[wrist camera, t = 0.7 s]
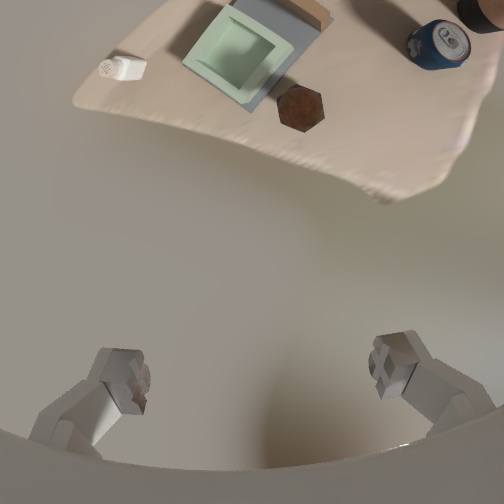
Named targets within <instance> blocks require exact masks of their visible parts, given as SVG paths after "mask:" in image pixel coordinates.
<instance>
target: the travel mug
mask: <svg viewBox="0 0 504 504" xmlns="http://www.w3.org/2000/svg"><path fill="white" fill-rule="evenodd" d="M457 10H458V14H459V16H460V18H461V20H462V22H463V23H464V24H465V25H466V26H467V27H468V28H469V29H470V30H472V31H474V32H476V33H480V34H484V33H491V32H497V31H503V30H504V0H460V1H459V2H458V6H457Z"/></svg>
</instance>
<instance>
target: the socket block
mask: <svg viewBox="0 0 504 504" xmlns="http://www.w3.org/2000/svg"><path fill="white" fill-rule="evenodd" d="M293 50H294V48H293V46H292V45H291V44H290V43H288V42H287V41H286V40H284V39H283V38H281V37H280V36H278V35H277V34H275V33H274V32H272V31H271V30H269V29H268V28H266V27H265V26H263V25H262V24H260V23H259V22H257V21H255V20H254V19H252V18H251V17H249V16H247V15H246V14H244V13H242V12H241V11H239V10H237V9H235V8H234V7H232V6H230V5H228V4H227V5H226V6H225V7H224V8H223V9H222V10H221V12H220V13H219V14H218V15H217V17H216V18H215V19H214V20H213V21H212V23H211V24H210V25H209V27H208V28H207V29H206V30H205V32H204V33H203V34H202V36H201V37H200V38H199V40H198V41H197V42H196V44H195V45H194V46H193V48H192V49H191V50H190V52H189V53H188V55H187V56H186V57H185V59H184V60H183V62H182V63H183V64H185V65H186V66H188V67H189V68H191V69H192V70H194V71H195V72H197V73H198V74H200V75H201V76H203V77H204V78H206V79H207V80H209V81H210V82H211V83H213V84H214V85H216V86H217V87H218V88H220V89H221V90H223V91H224V92H225V93H227V94H228V95H230V96H231V97H232V98H234V99H235V100H236V101H238V102H239V103H240V104H244V103H249V102H250V101H251V99H252V98H253V97H254V96H255V95H256V93H257V92H258V91H259V90H260V88H261V87H262V86H263V85H264V84H265V83H266V81H267V80H268V79H269V78H270V77H271V75H272V74H273V73H274V72H275V71H276V70H277V68H278V67H279V66H280V65H281V64H282V63H283V62H284V60H285V59H286V58H287V57H288V56H289V55H290V54H291V53H292V51H293Z"/></svg>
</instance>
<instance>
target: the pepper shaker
mask: <svg viewBox="0 0 504 504" xmlns="http://www.w3.org/2000/svg"><path fill="white" fill-rule="evenodd" d="M146 65H147V61H146V60H143V59H140V58H136V57H131V56H114V57H113V58H112V59H105V60H104V61H102V62H101V64H100V65H99V74H100V76H102V77H103V78H104V77H111V78H113V79H117V80H120V81H126V80H140V79H141V78H142V76H143V73H144V70H145V68H146Z"/></svg>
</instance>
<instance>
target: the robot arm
mask: <svg viewBox="0 0 504 504" xmlns="http://www.w3.org/2000/svg"><path fill="white" fill-rule="evenodd" d="M373 345H374V347H375V349H374V350H373V351H372V352H371V353H370V356H369V370H370V374H371V376H372V377H373V378H374V379H375V380H377V381H378V382H377V384H376V389H377V391H378V393H379V396H380V398H381V400H384V399H389V398H394V397H398V396H402V398H403V399H404V400H406V401H407V402H408V403H409V404H410V405H412V406H413V407H414V408H415V409H416V410H418V411H419V412H420V413H421V414H423V415H424V416H425V417H426V418H427V419H429V420H430V421H431V422H432V423H433V424H434V425H433V426H432V428H431V429H430V430H429V432H428V433H427V435H426V438H423V439H420V440H417V441H414V442H411V443H408V444H404V445H401V446H397V447H394V448H390V449H387V450H383V451H379V452H375V453H371V454H367V455H362V456H357V457H353V458H348V459H343V460H337V461H332V462H325V463H319V464H312V465H305V466H297V467H287V468H276V469H263V470H242V471H205V470H204V471H203V470H183V469H182V470H181V469H169V468H158V467H149V466H141V465H134V464H127V463H120V462H115V461H109V460H104V459H103V458H102V456H101V454H100V453H99V452H98V451H97V450H96V449H95V448H94V447H93V446H94V444H95V443H96V442H97V441H98V440H99V439H100V438H101V437H102V436H103V435H104V433H106V431H107V430H108V429H109V428H110V427H111V426H112V425H113V424H114V423H115V422H116V420H117V419H118V418H119V417H120V416H121V415H122V414H133V415H143V414H144V410H145V406H146V401H147V400H146V398H145V396H144V395H145V394H146V393H147V392H148V391H149V388H150V372H149V369H148V366H147V365H146V364H144V363H143V361H144V356H143V353H142V351H141V350H132V349H118V348H101V349H100V350H99V352H98V354H97V356H96V358H95V361H94V363H93V365H92V368H91V370H90V373H89V375H88V378H87V380H82V381H81V382H79V383H78V384H77V385H75V386H74V387H73V388H71V389H70V390H69V391H67V392H66V393H65V394H63V395H62V396H61V397H59V398H58V399H57V400H55V401H54V402H53V403H51V404H50V405H49V406H47V407H46V408H45V409H43V410H42V411H41V412H40V413H39V415H38V417H37V420H36V422H35V424H34V427H33V429H32V431H31V434H30V436H29V439H26V438H23V437H20V436H18V435H15V434H12V433H10V432H7V431H4V430H2V429H0V504H504V405H502V406H500V407H498V408H496V407H495V405H494V403H493V402H492V400H491V398H490V396H489V395H488V393H487V392H486V390H485V388H484V387H483V385H482V384H480V383H479V382H477V381H475V380H473V379H471V378H470V377H468V376H466V375H464V374H463V373H461V372H459V371H457V370H456V369H454V368H452V367H450V366H448V365H447V364H445V363H443V362H442V361H440V360H438V359H433V358H432V357H431V355H430V353H429V352H428V350H427V349H426V347H425V345H424V344H423V342H422V341H421V339H420V337H419V336H418V334H417V333H416V332H415V331H414V330H409V331H403V332H398V333H392V334H386V335H380V336H377V337H376V338H375V339H374V342H373Z"/></svg>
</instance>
